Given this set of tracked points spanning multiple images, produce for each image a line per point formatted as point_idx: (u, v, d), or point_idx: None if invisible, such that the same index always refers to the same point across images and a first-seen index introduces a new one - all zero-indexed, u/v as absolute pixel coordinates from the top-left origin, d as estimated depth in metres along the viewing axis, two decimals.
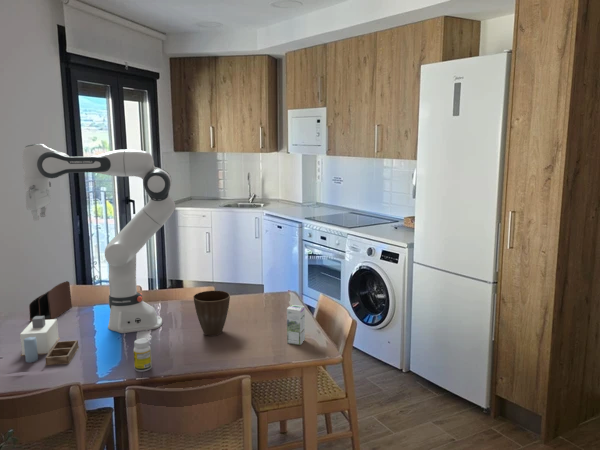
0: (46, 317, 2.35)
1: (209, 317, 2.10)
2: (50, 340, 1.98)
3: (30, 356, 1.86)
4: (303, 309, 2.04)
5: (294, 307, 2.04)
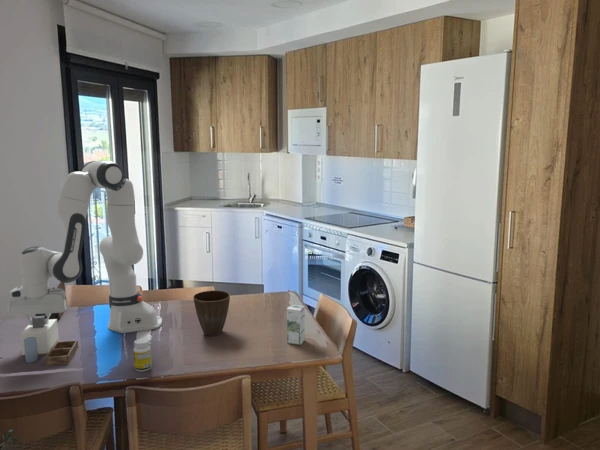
0: (52, 316, 2.35)
1: (209, 317, 2.10)
2: (50, 340, 1.98)
3: (30, 356, 1.86)
4: (303, 309, 2.04)
5: (294, 307, 2.04)
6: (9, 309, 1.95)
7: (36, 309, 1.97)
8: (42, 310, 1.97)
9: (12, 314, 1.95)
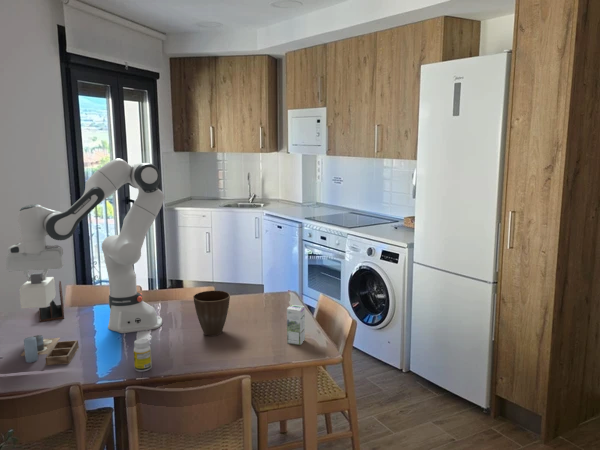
0: (55, 316, 2.35)
1: (209, 317, 2.10)
2: (48, 295, 2.04)
3: (30, 356, 1.86)
4: (303, 309, 2.04)
5: (294, 307, 2.04)
6: (8, 265, 2.00)
7: (34, 266, 2.03)
8: (40, 266, 2.03)
9: (11, 270, 2.01)
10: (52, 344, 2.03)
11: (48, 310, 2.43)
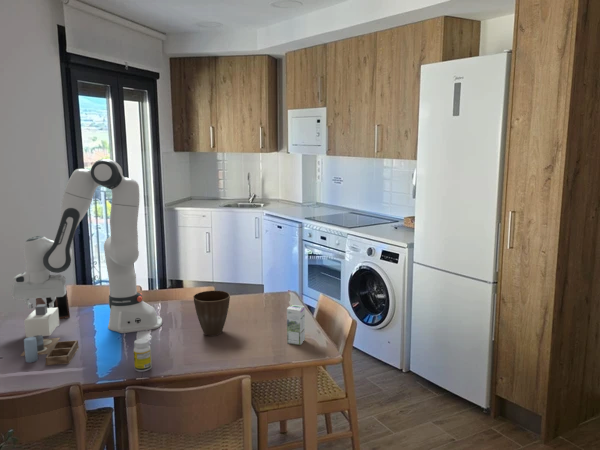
0: (60, 315, 2.36)
1: (209, 317, 2.10)
2: (52, 326, 2.16)
3: (30, 356, 1.86)
4: (303, 309, 2.04)
5: (294, 307, 2.04)
6: (13, 293, 2.12)
7: (38, 294, 2.14)
8: (44, 294, 2.15)
9: (16, 298, 2.13)
10: (52, 344, 2.03)
11: None
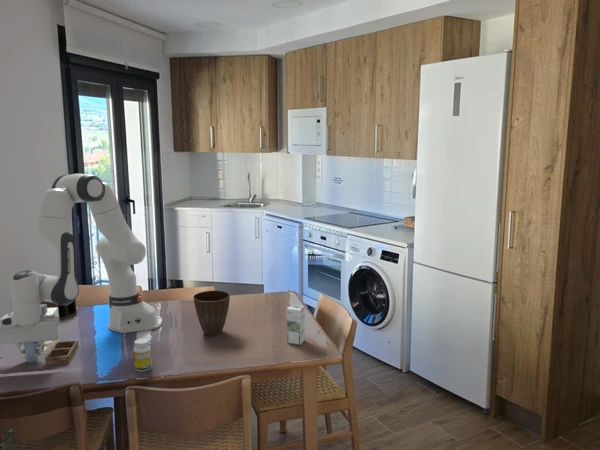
0: (67, 313, 2.39)
1: (209, 317, 2.10)
2: None
3: (30, 356, 1.86)
4: (303, 309, 2.04)
5: (294, 307, 2.04)
6: None
7: (28, 338, 1.85)
8: (34, 338, 1.86)
9: (3, 342, 1.84)
10: (52, 344, 2.03)
11: None
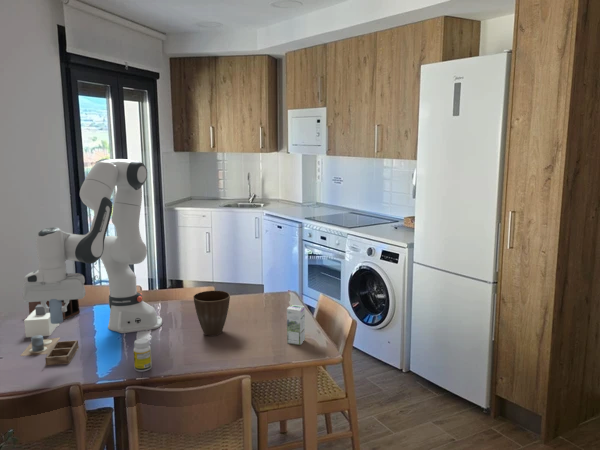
0: None
1: (209, 317, 2.10)
2: (52, 326, 2.16)
3: (55, 314, 1.84)
4: (303, 309, 2.04)
5: (294, 307, 2.04)
6: (24, 295, 1.81)
7: (53, 296, 1.83)
8: (60, 296, 1.84)
9: (28, 300, 1.82)
10: (52, 344, 2.03)
11: None
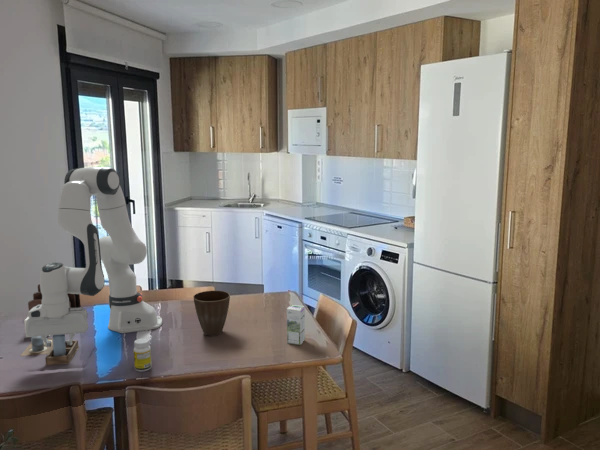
0: None
1: (209, 317, 2.10)
2: None
3: (59, 352, 1.86)
4: (303, 309, 2.04)
5: (294, 307, 2.04)
6: (28, 330, 1.83)
7: (56, 330, 1.85)
8: (63, 331, 1.86)
9: (31, 335, 1.84)
10: (52, 344, 2.03)
11: None
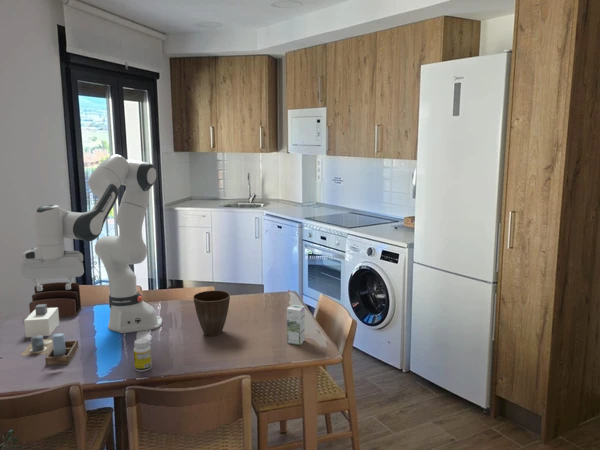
0: None
1: (209, 317, 2.10)
2: (52, 326, 2.16)
3: (59, 352, 1.86)
4: (303, 309, 2.04)
5: (294, 307, 2.04)
6: (22, 272, 1.80)
7: (51, 273, 1.82)
8: (58, 274, 1.82)
9: (26, 277, 1.80)
10: (52, 344, 2.03)
11: None
